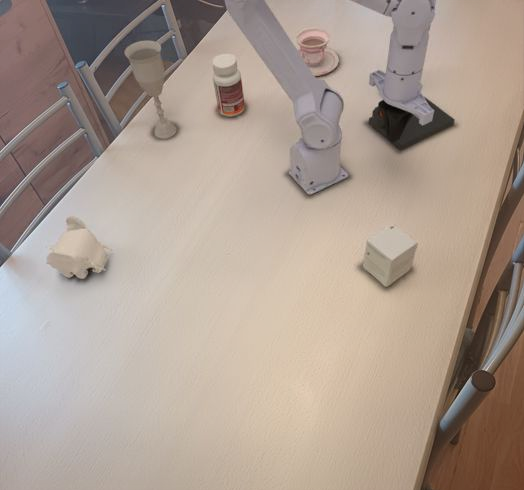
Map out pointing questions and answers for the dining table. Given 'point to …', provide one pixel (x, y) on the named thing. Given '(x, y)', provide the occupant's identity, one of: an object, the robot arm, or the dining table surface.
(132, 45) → the chalice
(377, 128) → the scale
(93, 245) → the elephant figurine
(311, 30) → the teacup
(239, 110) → the pill bottle
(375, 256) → the product box
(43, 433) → the dining table surface
